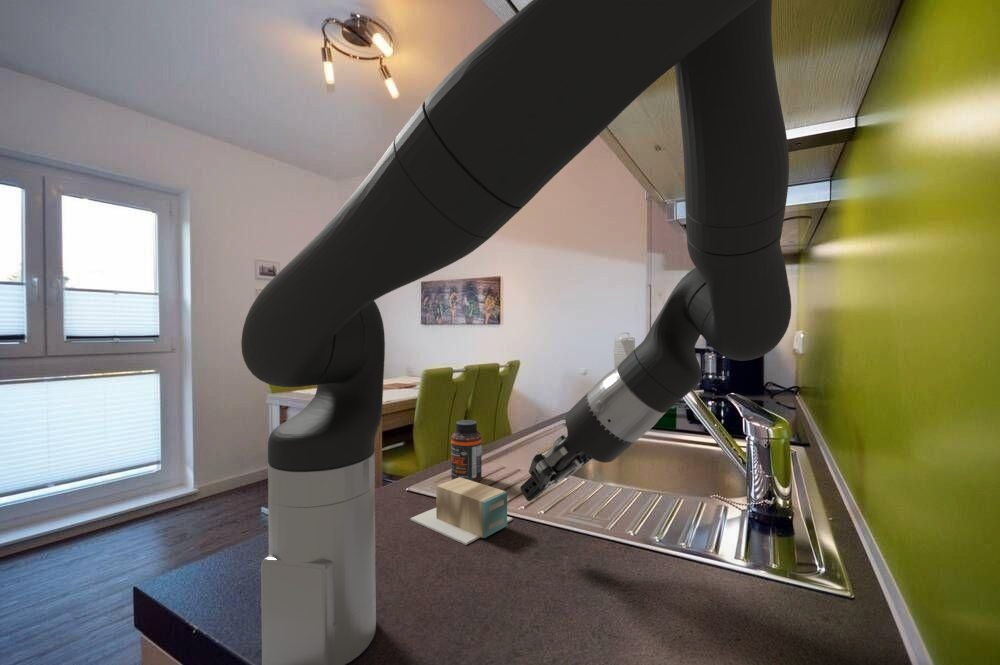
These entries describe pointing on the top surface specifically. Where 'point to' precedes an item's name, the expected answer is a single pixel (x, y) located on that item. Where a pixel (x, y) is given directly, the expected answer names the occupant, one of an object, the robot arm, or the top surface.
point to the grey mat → (445, 527)
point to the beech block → (471, 506)
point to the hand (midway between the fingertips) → (527, 493)
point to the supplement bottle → (466, 451)
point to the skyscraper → (622, 348)
